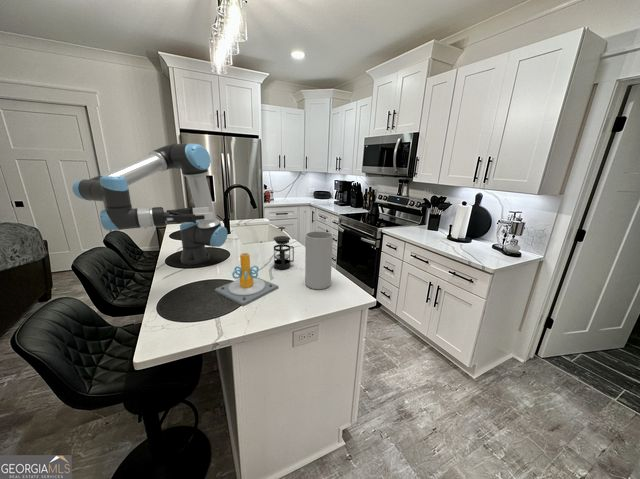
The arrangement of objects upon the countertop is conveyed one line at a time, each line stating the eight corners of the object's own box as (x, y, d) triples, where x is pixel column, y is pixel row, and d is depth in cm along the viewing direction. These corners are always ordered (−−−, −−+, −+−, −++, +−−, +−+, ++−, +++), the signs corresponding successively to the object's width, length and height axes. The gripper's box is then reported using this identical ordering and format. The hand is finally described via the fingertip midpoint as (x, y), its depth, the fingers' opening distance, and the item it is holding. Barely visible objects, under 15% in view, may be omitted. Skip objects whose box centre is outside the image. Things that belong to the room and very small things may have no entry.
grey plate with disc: (214, 291, 115) (214, 287, 114) (250, 276, 130) (250, 272, 130) (243, 306, 104) (243, 301, 103) (278, 288, 119) (278, 283, 119)
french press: (273, 271, 138) (272, 229, 131) (271, 264, 147) (270, 225, 140) (294, 269, 141) (294, 229, 134) (292, 263, 150) (291, 224, 143)
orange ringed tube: (264, 282, 120) (263, 252, 115) (251, 292, 110) (250, 260, 106) (242, 278, 123) (240, 249, 119) (228, 287, 114) (225, 256, 110)
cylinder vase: (328, 291, 118) (330, 239, 110) (302, 288, 120) (302, 237, 112) (332, 279, 129) (334, 232, 122) (308, 277, 131) (308, 230, 124)
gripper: (155, 220, 111) (208, 216, 121) (152, 234, 91) (216, 228, 101) (152, 202, 109) (206, 200, 119) (148, 213, 88) (214, 209, 98)
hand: (210, 213), depth 110 cm, fingers open, 13 cm apart
